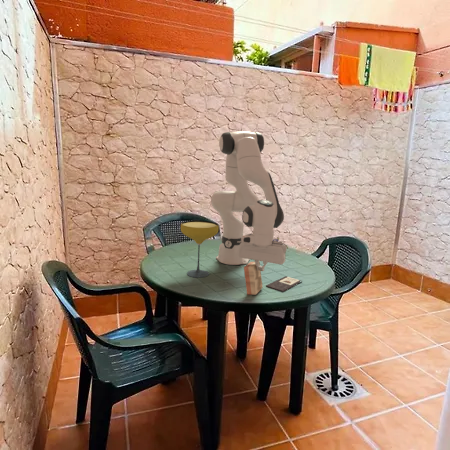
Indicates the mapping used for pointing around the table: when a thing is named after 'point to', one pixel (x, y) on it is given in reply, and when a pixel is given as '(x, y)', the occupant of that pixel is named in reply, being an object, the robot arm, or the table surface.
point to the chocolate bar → (283, 284)
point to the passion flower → (280, 241)
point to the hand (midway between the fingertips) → (260, 270)
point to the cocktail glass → (199, 238)
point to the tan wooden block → (252, 278)
